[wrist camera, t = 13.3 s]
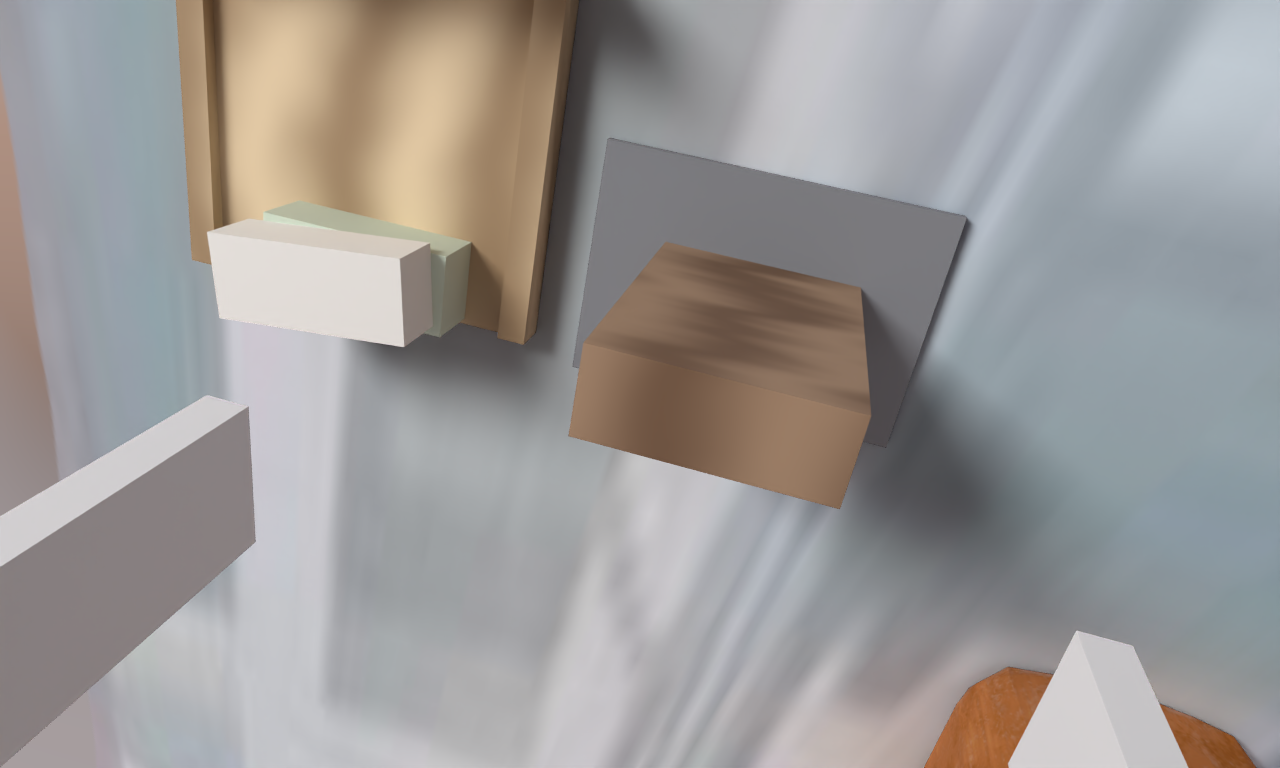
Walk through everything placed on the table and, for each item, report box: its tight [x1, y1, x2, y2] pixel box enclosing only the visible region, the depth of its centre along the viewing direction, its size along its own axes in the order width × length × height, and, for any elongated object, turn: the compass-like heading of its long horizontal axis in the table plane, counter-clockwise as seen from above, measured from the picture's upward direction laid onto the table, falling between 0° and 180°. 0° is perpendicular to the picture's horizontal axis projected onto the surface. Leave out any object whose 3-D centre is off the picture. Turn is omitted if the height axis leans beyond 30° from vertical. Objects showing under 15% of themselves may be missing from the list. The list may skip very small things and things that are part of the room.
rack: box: [176, 0, 579, 345], centre depth 32 cm, size 16×16×6 cm
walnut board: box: [569, 242, 871, 509], centre depth 28 cm, size 8×3×12 cm, turn 79°
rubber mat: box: [573, 138, 967, 448], centre depth 34 cm, size 14×10×1 cm
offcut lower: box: [263, 200, 471, 337], centre depth 35 cm, size 8×4×2 cm, turn 79°
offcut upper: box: [207, 219, 433, 347], centre depth 33 cm, size 8×4×2 cm, turn 85°
